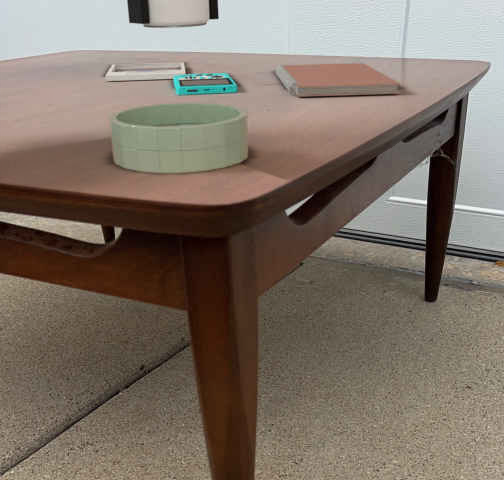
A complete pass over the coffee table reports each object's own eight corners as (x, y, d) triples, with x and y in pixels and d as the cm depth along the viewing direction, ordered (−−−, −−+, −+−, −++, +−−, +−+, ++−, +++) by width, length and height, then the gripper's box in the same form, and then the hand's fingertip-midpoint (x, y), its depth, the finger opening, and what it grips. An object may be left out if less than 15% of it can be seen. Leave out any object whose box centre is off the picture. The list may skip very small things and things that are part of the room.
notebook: (274, 75, 130) (274, 64, 129) (362, 72, 131) (362, 61, 130) (290, 98, 105) (290, 84, 104) (399, 95, 106) (400, 81, 105)
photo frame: (105, 74, 125) (112, 63, 142) (105, 81, 126) (113, 69, 142) (185, 71, 127) (183, 61, 143) (186, 78, 127) (183, 66, 143)
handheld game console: (228, 79, 126) (228, 71, 125) (239, 92, 112) (238, 83, 111) (173, 81, 125) (172, 73, 124) (177, 95, 110) (176, 86, 110)
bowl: (151, 190, 61) (147, 134, 59) (93, 161, 71) (88, 112, 69) (274, 167, 68) (273, 115, 66) (205, 143, 78) (203, 98, 76)
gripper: (48, -336, 47) (91, 29, 56) (280, -288, 56) (282, 16, 66) (15, -301, 52) (59, 25, 62) (231, -263, 62) (240, 14, 72)
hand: (174, 20), depth 64 cm, fingers closed on can, 6 cm apart
